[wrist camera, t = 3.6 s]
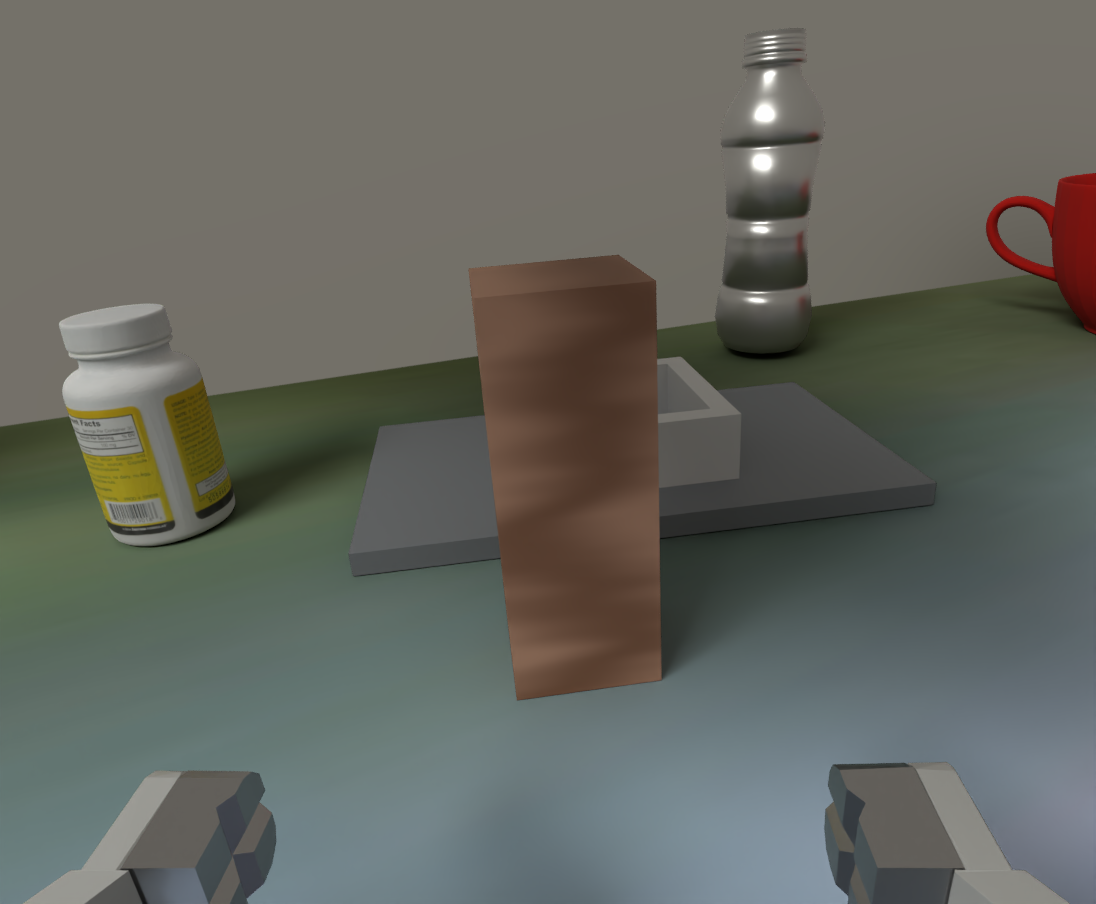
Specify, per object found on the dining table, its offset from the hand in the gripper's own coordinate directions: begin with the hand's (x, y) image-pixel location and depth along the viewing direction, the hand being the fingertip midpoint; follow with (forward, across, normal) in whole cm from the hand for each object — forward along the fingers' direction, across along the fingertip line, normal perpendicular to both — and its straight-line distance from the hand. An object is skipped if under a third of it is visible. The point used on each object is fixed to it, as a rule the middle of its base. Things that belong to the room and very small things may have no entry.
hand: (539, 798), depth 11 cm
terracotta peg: (+12, 0, +7) cm, 14 cm away
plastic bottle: (+45, -12, +7) cm, 47 cm away
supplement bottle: (+22, +19, +7) cm, 30 cm away
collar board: (+26, -2, +7) cm, 27 cm away
